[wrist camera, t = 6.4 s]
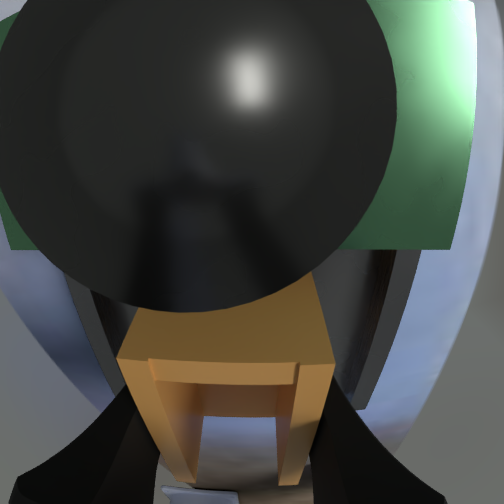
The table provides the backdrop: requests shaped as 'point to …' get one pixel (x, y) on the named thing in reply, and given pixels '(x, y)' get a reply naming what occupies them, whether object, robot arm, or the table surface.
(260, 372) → the tan arch block
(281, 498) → the table surface
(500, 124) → the table surface
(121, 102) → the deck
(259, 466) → the table surface
